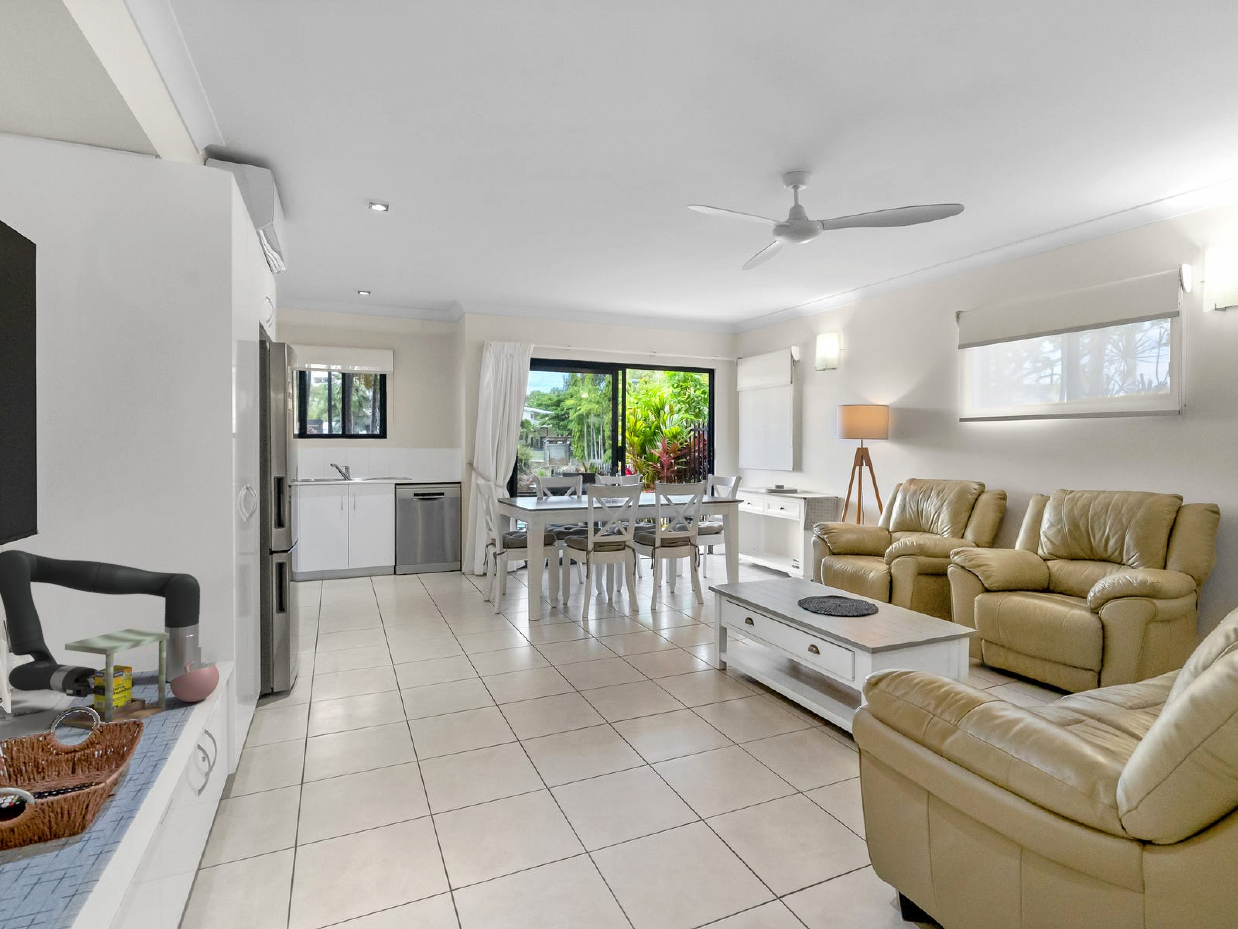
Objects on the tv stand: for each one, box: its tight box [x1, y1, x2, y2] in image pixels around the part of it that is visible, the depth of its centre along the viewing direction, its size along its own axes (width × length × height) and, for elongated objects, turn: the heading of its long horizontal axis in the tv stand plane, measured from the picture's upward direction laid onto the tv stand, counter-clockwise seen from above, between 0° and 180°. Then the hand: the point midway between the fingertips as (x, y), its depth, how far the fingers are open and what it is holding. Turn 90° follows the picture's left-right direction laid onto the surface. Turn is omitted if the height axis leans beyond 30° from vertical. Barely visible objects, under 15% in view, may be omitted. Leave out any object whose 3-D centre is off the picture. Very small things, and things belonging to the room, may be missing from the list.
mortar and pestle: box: [169, 661, 220, 703], centre depth 191 cm, size 12×12×12 cm
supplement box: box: [93, 664, 133, 710], centre depth 178 cm, size 6×6×11 cm
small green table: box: [62, 628, 169, 730], centre depth 178 cm, size 17×16×22 cm
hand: (119, 687), depth 177 cm, fingers closed on supplement box, 6 cm apart
